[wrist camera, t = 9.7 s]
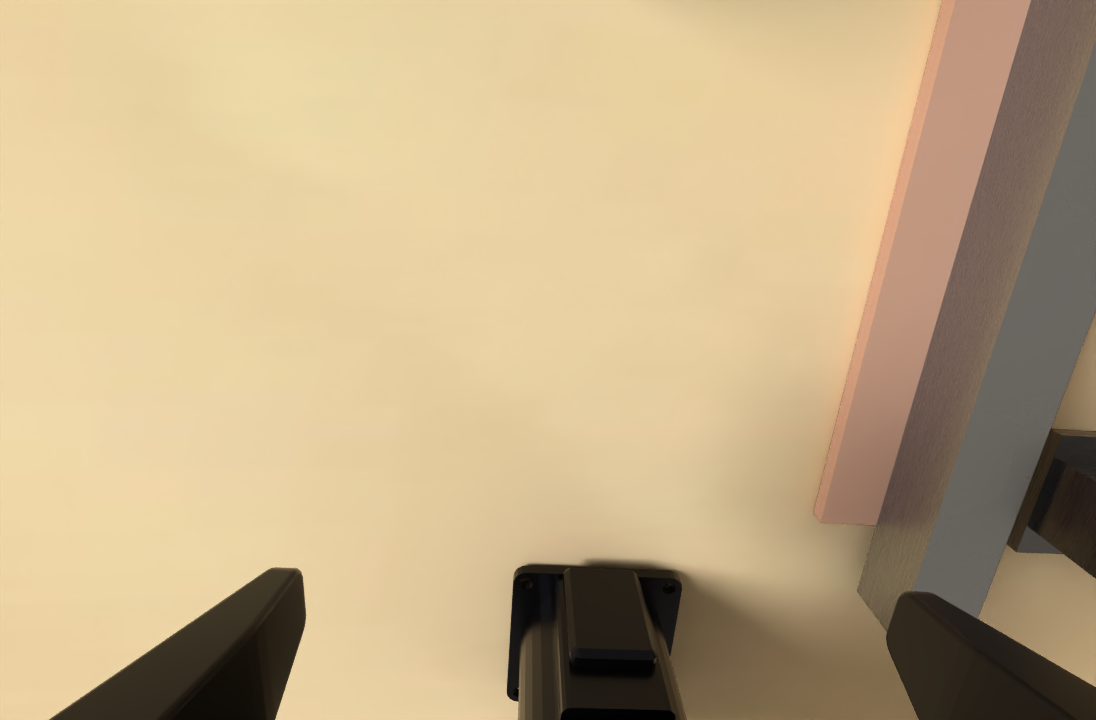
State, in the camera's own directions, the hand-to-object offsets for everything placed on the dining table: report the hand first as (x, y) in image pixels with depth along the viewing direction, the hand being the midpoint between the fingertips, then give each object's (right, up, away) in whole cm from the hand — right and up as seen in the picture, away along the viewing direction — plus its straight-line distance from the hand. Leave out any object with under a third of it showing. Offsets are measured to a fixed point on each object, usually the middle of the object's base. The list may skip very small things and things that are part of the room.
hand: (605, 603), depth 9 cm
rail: (+13, +7, +10) cm, 18 cm away
